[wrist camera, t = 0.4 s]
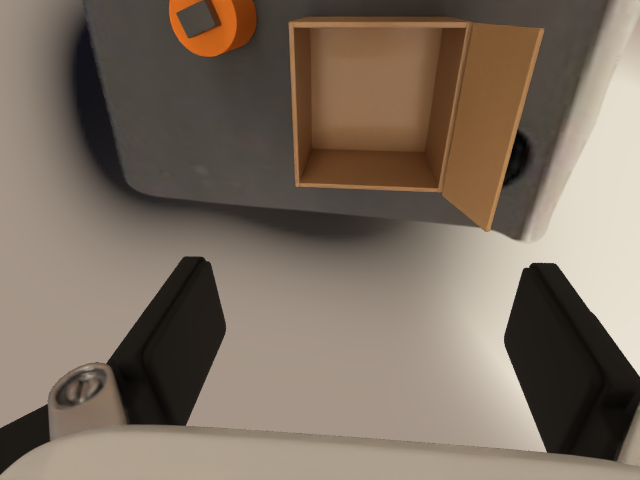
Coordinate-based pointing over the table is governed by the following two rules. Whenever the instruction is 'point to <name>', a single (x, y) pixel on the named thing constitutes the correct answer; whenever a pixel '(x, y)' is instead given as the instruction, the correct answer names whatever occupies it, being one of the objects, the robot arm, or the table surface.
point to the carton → (375, 100)
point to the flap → (489, 116)
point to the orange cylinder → (213, 24)
